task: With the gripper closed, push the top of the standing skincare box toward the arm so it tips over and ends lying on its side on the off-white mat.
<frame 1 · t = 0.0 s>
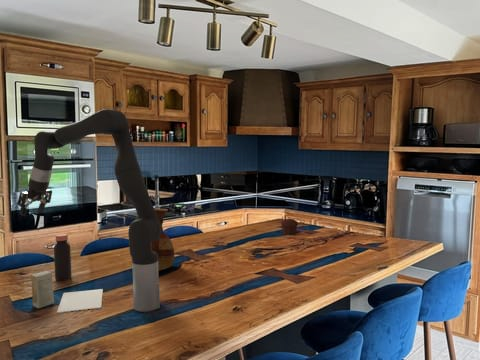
hand: (31, 213, 171), 31 cm above the table, tool tilted 20°, fingers open, 8 cm apart
skincare box: (43, 305, 154), on the table
vinegar: (63, 279, 184), on the table
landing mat: (81, 300, 158), on the table
muffin: (289, 234, 275), on the table
brown vase: (153, 270, 197), on the table
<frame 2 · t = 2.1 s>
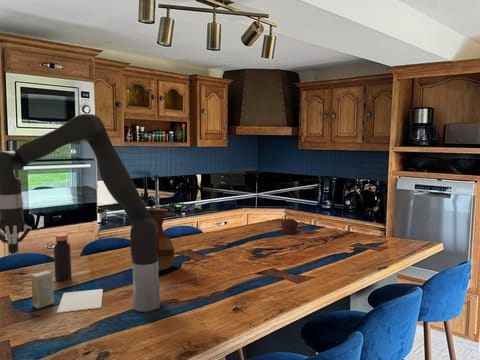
hand: (13, 253, 149), 21 cm above the table, tool pointing down, fingers closed
nothing on the table moved.
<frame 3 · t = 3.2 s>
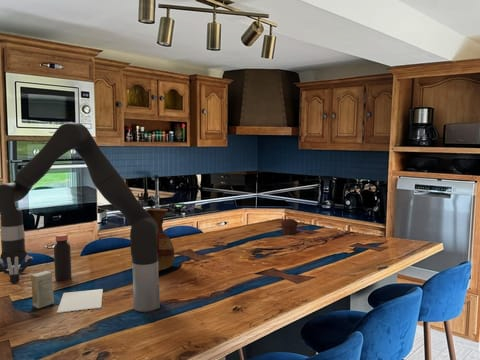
hand: (15, 283, 150), 9 cm above the table, tool pointing down, fingers closed
nothing on the table moved.
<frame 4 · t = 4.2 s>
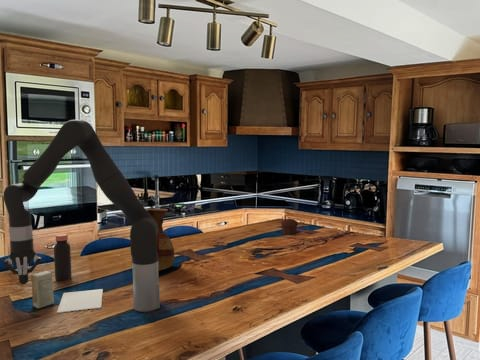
hand: (24, 283, 151), 9 cm above the table, tool pointing down, fingers closed
skincare box: (43, 305, 154), on the table, touching gripper
everything else where it was.
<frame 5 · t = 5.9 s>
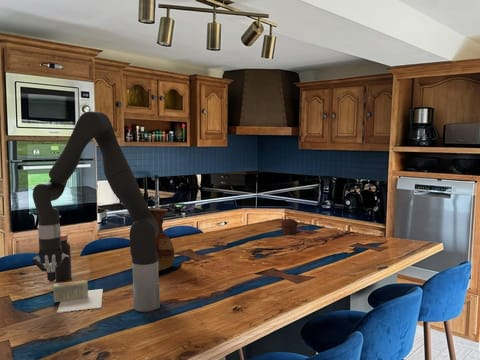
hand: (52, 281, 154), 9 cm above the table, tool pointing down, fingers closed
skincare box: (53, 292, 156), point 4 cm above the table, touching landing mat
everything else where it was.
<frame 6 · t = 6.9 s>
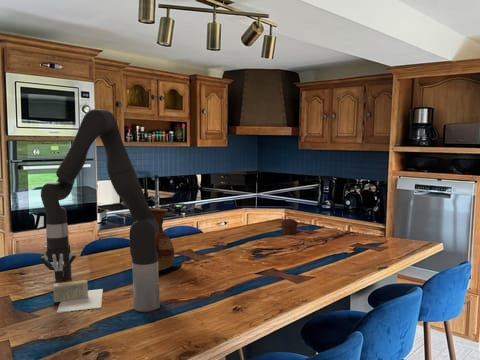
hand: (59, 280, 155), 9 cm above the table, tool pointing down, fingers closed
nothing on the table moved.
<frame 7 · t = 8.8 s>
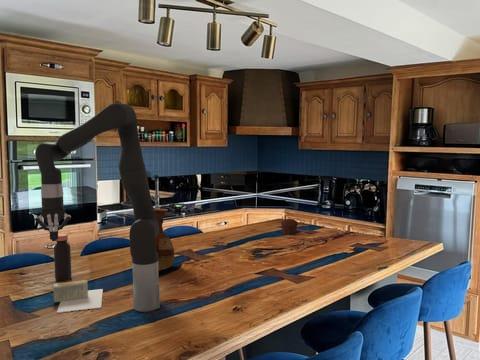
hand: (54, 240, 156), 24 cm above the table, tool pointing down, fingers closed
nothing on the table moved.
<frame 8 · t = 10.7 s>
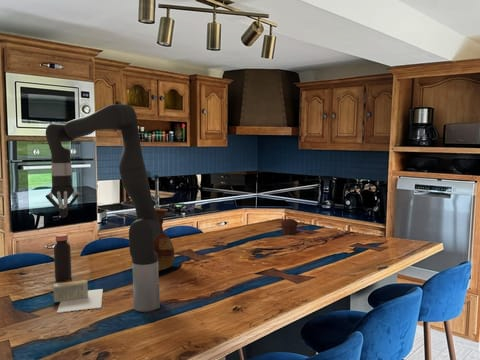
hand: (63, 217, 165), 31 cm above the table, tool pointing down, fingers closed
nothing on the table moved.
at the end: skincare box tilted 91°; skincare box inside the target area (2.0 cm from its centre), point 3.6 cm above the table; the gripper is holding nothing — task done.
